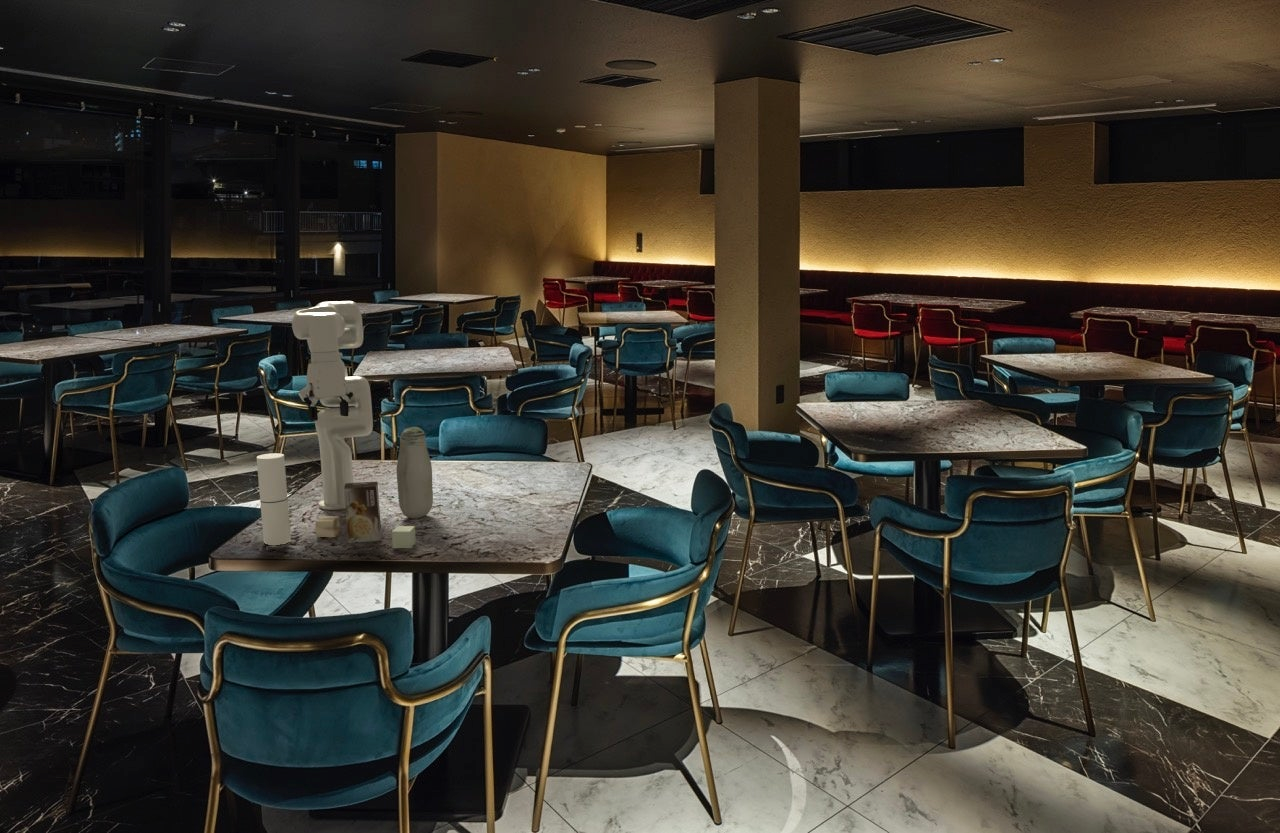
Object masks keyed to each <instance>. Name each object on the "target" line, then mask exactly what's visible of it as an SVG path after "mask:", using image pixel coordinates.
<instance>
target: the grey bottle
mask: <svg viewBox="0 0 1280 833" xmlns="http://www.w3.org/2000/svg"><path fill="white" fill-rule="evenodd" d="M399 442H400V443H399V444H400V445H399V451H398V455H397V456H398V457H397V461H396V482H397V496H398V505H399V508H400V511H401V513H402V514H403V515H404V516H405V517H406V518H409V519H413V520H414V519H415V520H417V519H421V518H423V517H426V516H427V515H428V514H429V513H430V511H431V510H432V508H433V502H434V495H433V494H434V493H433V491H434V490H433V467H432V466H433V465H432V462H431V458H430V453H429V451H428V446H427V440H426V434H425V431H424V430H422V428H420V427H418V426H413V427H412V426H411V427H407V428H405V429H404V430H403V431H402V432H401V434H400V437H399Z"/></svg>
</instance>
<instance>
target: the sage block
mask: <svg viewBox="0 0 1280 833" xmlns="http://www.w3.org/2000/svg"><path fill="white" fill-rule="evenodd" d="M391 541H392V544H391V545H392V549H393V548H411V547H412V546H413V545H414V546H415V545H416V541H417V540H416V526H415V525H402V526H401V525H397V526H395V528H393V530H392V531H391ZM414 546H413V547H414ZM413 547H412V548H413ZM412 548H411V549H412Z"/></svg>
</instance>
